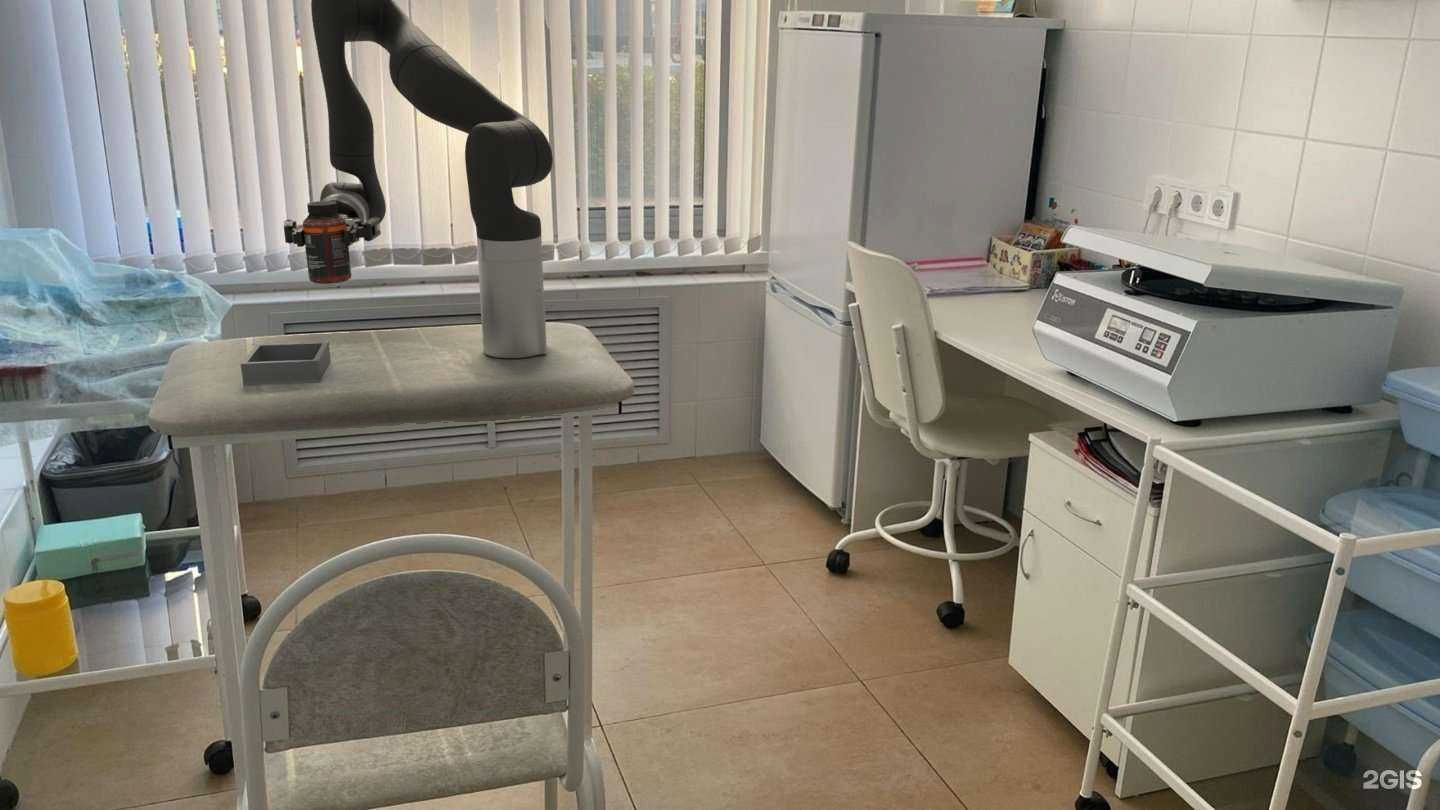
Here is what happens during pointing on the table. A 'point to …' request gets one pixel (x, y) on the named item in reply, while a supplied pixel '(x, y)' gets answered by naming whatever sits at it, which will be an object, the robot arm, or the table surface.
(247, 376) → the grey storage bin
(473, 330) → the table surface
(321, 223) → the supplement bottle
